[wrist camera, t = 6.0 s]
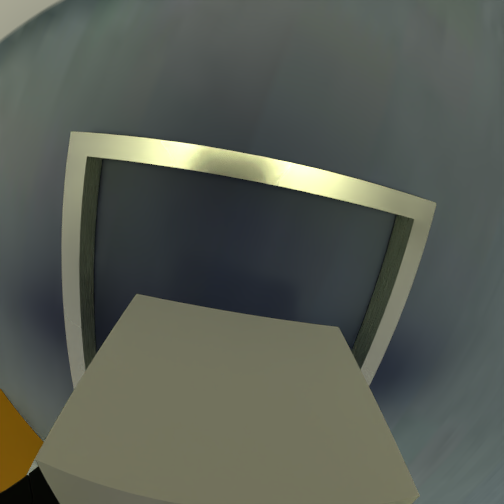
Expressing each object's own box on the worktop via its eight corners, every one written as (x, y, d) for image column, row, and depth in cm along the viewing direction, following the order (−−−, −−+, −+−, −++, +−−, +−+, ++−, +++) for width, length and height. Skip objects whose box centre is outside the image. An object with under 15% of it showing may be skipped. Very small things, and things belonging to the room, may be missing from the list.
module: (338, 326, 8) (424, 505, 3) (273, 478, 10) (284, 597, 5) (136, 293, 7) (28, 469, 2) (139, 460, 9) (110, 577, 4)
